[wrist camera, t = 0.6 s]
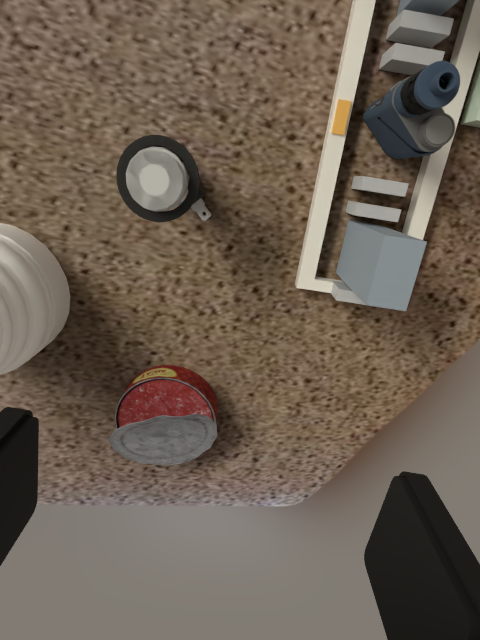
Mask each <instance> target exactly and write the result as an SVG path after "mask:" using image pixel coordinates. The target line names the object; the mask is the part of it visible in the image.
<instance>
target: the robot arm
mask: <svg viewBox="0 0 480 640" xmlns="http://www.w3.org/2000/svg"><path fill="white" fill-rule="evenodd" d="M38 432H39V421H38V418H36V417H33V414H32V412H31V411H30V410H24V409H18V408H11V407H6V408H5V409H3V410H2V411H1V412H0V566H1V564H2V562H3V561H4V559H5V557H6V556H7V554H8V553H9V551H10V550H11V548H12V546H13V545H14V543H15V541H16V540H17V539H18V537H19V535H20V534H21V532H22V531H23V529H24V527H25V526H26V524H27V523H28V521H29V519H30V518H31V516H32V514H33V513H34V510H35V507H36V504H37V490H38ZM364 557H365V558H364V560H365V566H366V569H367V573H368V576H369V579H370V583H371V586H372V589H373V593H374V596H375V599H376V602H377V606H378V609H379V612H380V616H381V619H382V622H383V626H384V629H385V632H386V635H387V639H388V640H480V564H479V562H478V561H477V559H476V557H475V556H474V554H473V552H472V551H471V549H470V547H469V546H468V544H467V542H466V541H465V539H464V537H463V536H462V534H461V532H460V531H459V529H458V527H457V525H456V524H455V522H454V521H453V519H452V517H451V515H450V514H449V512H448V510H447V509H446V507H445V505H444V504H443V502H442V500H441V499H440V497H439V495H438V494H437V492H436V490H435V489H434V487H433V485H432V484H431V482H430V480H429V479H428V477H427V476H425V475H422V474H416V473H410V472H402V473H400V475H399V476H395V477H394V478H393V480H392V481H391V484H390V487H389V489H388V492H387V494H386V497H385V500H384V502H383V505H382V507H381V510H380V513H379V515H378V518H377V521H376V523H375V526H374V529H373V531H372V533H371V536H370V539H369V541H368V544H367V546H366V549H365V555H364Z"/></svg>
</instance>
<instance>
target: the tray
mask: <svg viewBox="0 0 480 640" xmlns="http://www.w3.org/2000/svg"><path fill="white" fill-rule="evenodd" d="M460 124H461V125H467V126H473V127H479V128H480V59H479V62H478V65H477V69H476V72H475V75H474V79H473V82H472V85H471V89H470V92H469V95H468V99H467V102H466V105H465V109H464V112H463V115H462V119H461V122H460Z"/></svg>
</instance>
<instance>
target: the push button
mask: <svg viewBox="0 0 480 640" xmlns="http://www.w3.org/2000/svg"><path fill="white" fill-rule="evenodd" d="M160 147H164V148H160ZM179 156H180V157H181V158H182V159H183V161H184V162H182V161H180V160H179ZM117 185H118V189H119V192H120V194H121V197H122V198H123V200H124V202H125V203H126V205H127V206H128V207H129V208H130V209H131V210H132V211H133V212H134V213H135V214H137V215H138V216H140V217H142V218H144V219H146V220H150V221H154V222H167V221H171V220H174V219H176V218H178V217H180V216H182V215H183V214H184V213H186V212H187V211H188V210H189V209H190V207H191V209H192V210H193V211H194V212H197V214H198V215H199V216H200V217H201V219H202V220H203V221H205V220H207V219H208V218H209V217H210V216H211V213H210V212H209V211H208V209H207V208H206V207H205V202H204V201H203V200H202V197H203V196H204V195H205V194H206V193H205V192H204V190H203V189H202V188H201V187H200V185H199V173H198V169H197V166H196V163H195V161H194V159H193V157H192V156H191V154H190V153H189V152H188V150H187V149H186V148H185V147H184V146H182V145H181V144H180V143H178V142H177V141H175V140H173V139H171V138H168V137H165V136H161V135H149V136H145V137H142V138H139V139H137V140H135V141H134V142H132V143H131V144H130V145H129V146H128V147H127V148H126V149H125V151H124V152H123V154H122V155H121V157H120V160H119V163H118V167H117ZM177 204H179V206H178V207H177V208H175V209H174V210H171V211H167V210H169V209H171V208H173V207H175V206H176V205H177ZM203 212H206V216H204V215H203Z"/></svg>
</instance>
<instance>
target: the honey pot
mask: <svg viewBox="0 0 480 640" xmlns="http://www.w3.org/2000/svg"><path fill="white" fill-rule="evenodd" d="M69 309H70V292H69V287H68V282H67V278H66V276H65V274H64V272H63V270H62V268H61V266H60V264H59V262H58V260H57V259H56V258H55V257H54V255H53V254H52V253H51V252H50V251H49V249H48V248H47V247H46V246H45V245H44V244H42V243H41V242H40V241H39V240H37V239H36V238H35V237H34V236H32V235H31V234H29V233H27V232H25V231H23V230H21V229H19V228H17V227H14V226H12V225H7V224H2V223H0V375H1V374H4V373H7V372H10V371H13V370H15V369H17V368H18V367H20V366H21V365H23V364H24V363H26V362H27V361H29V360H30V359H31V358H32V357H33V356H35V355H36V354H37V353H38V352H40V351H41V350H42V349H43V348H44V347H46V346H47V345H48V344H49V343H50V342H52V341H53V340H54V339H55V338H56V336H57V335H58V334H59V333H60V331H61V330H62V329H63V328H64V325H65V323H66V320H67V317H68V315H69Z"/></svg>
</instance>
